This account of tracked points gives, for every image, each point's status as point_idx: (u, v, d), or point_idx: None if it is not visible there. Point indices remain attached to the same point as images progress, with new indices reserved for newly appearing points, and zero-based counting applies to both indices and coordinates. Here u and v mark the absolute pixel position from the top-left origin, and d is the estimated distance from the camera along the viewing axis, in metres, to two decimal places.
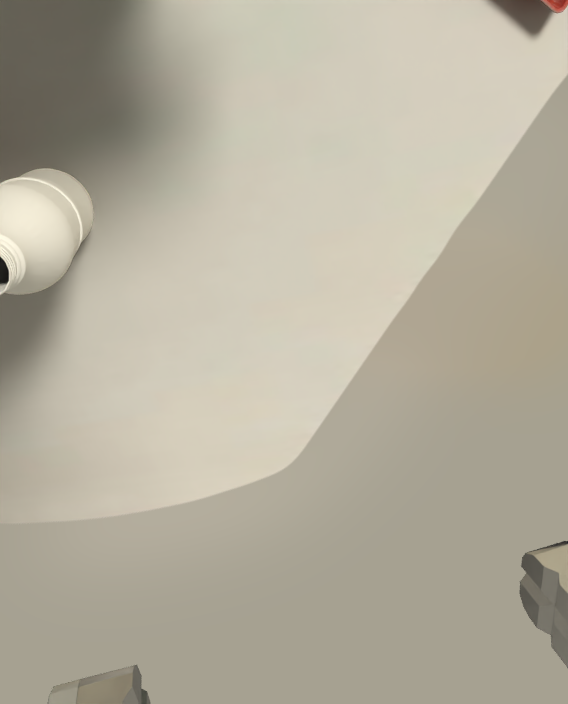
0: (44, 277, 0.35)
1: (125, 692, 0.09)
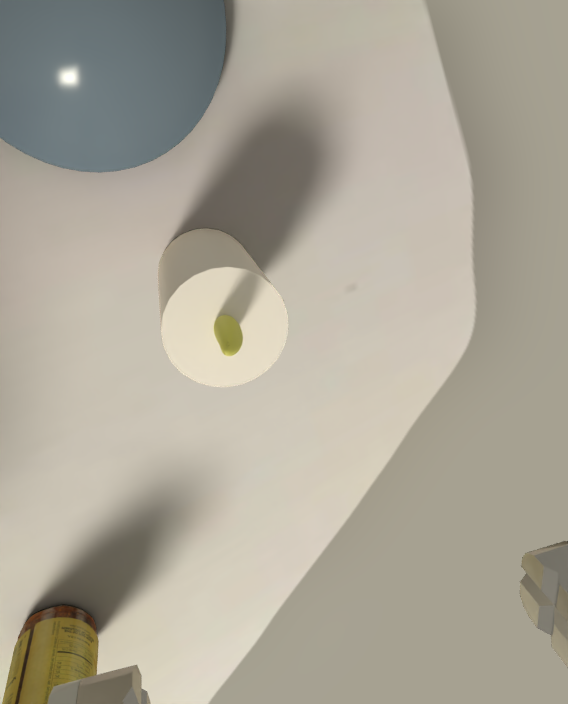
0: None
1: (125, 692, 0.09)
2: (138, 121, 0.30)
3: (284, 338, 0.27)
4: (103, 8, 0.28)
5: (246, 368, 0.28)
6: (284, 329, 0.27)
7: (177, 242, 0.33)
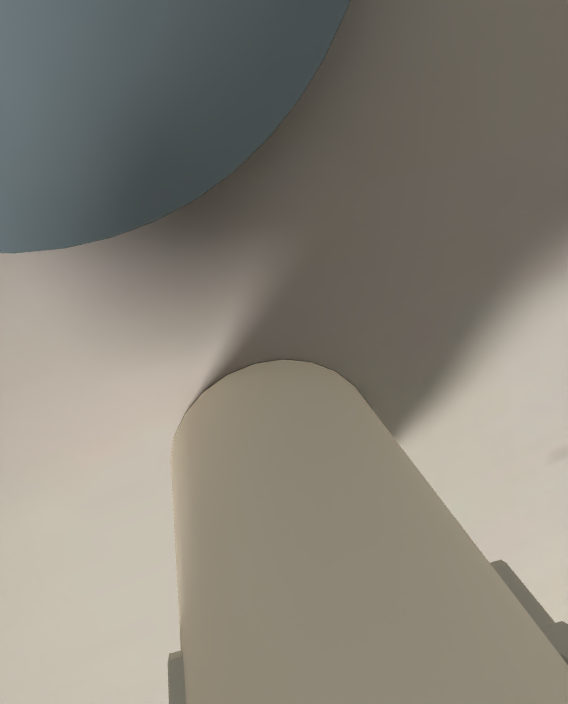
0: None
1: None
2: (121, 112, 0.10)
3: None
4: None
5: None
6: None
7: (220, 407, 0.14)
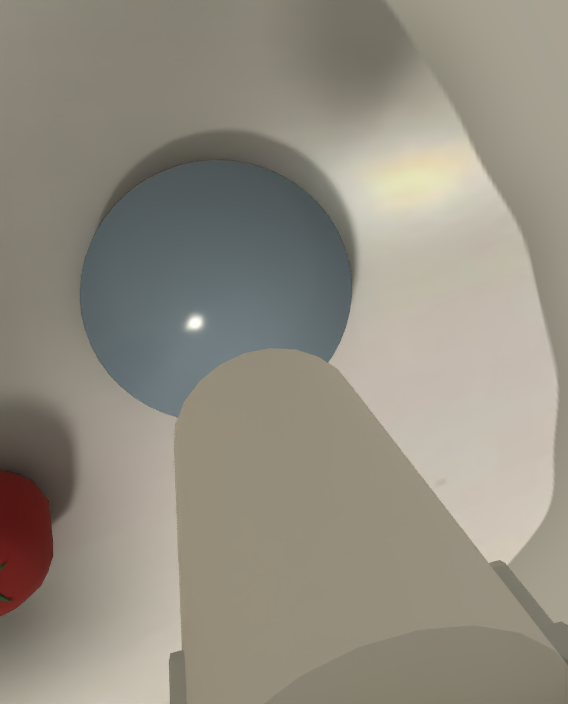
0: None
1: None
2: None
3: None
4: (243, 293, 0.30)
5: None
6: None
7: (213, 392, 0.15)
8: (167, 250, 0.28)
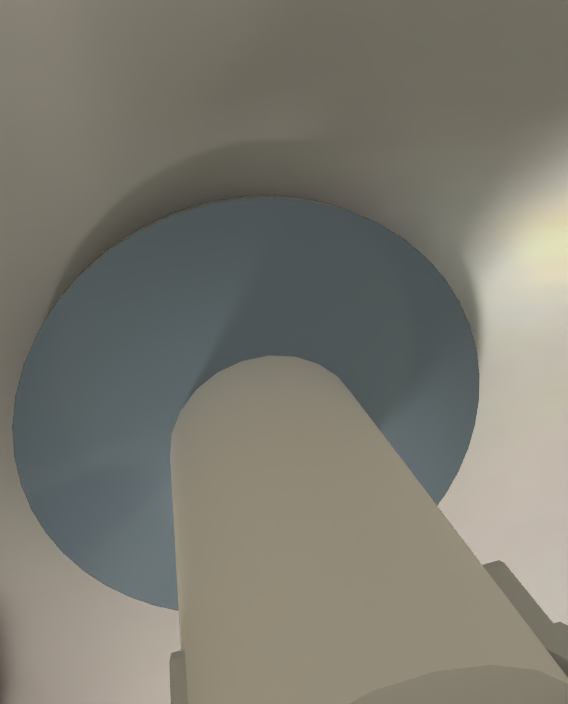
0: None
1: None
2: None
3: None
4: None
5: None
6: None
7: (210, 402, 0.15)
8: (177, 353, 0.16)
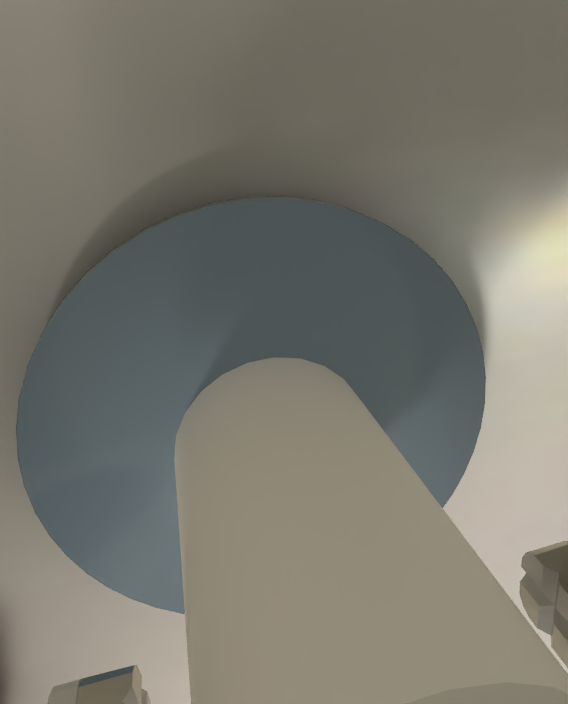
0: None
1: (125, 692, 0.09)
2: None
3: None
4: None
5: None
6: None
7: (216, 405, 0.15)
8: (181, 355, 0.15)
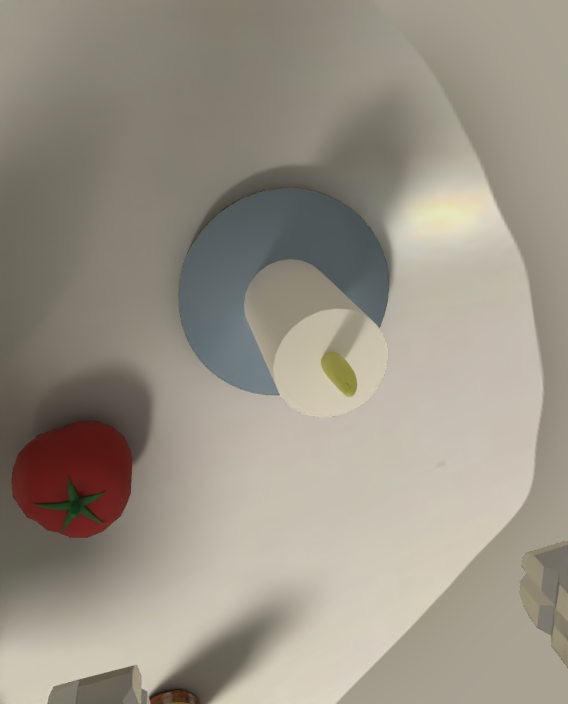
0: None
1: (125, 692, 0.09)
2: None
3: (383, 371, 0.29)
4: None
5: (348, 399, 0.29)
6: (384, 363, 0.29)
7: (266, 274, 0.35)
8: (250, 255, 0.36)
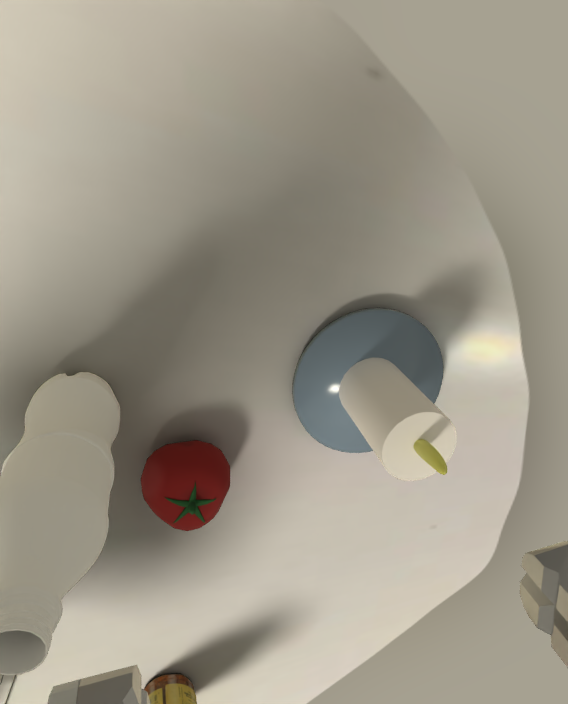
0: (8, 526, 0.29)
1: (125, 692, 0.09)
2: None
3: (449, 457, 0.43)
4: None
5: (421, 471, 0.43)
6: (451, 452, 0.43)
7: (366, 367, 0.49)
8: (357, 349, 0.49)
